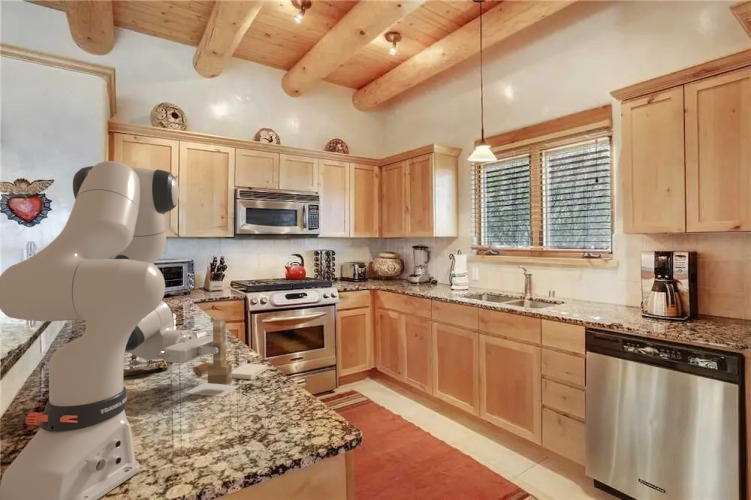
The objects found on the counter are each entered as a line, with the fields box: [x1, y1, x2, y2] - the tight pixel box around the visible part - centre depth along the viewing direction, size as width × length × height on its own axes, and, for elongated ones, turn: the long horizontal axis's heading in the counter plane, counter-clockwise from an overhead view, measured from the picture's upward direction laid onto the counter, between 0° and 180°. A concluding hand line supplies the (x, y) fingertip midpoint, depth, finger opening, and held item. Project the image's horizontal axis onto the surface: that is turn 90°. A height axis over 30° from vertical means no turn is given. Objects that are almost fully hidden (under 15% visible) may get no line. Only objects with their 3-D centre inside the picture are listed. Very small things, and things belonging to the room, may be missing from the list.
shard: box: [193, 362, 213, 377], centre depth 130 cm, size 11×8×2 cm
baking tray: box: [123, 351, 174, 377], centre depth 136 cm, size 30×22×5 cm
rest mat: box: [184, 382, 240, 397], centre depth 113 cm, size 8×12×1 cm, turn 76°
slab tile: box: [232, 363, 268, 380], centre depth 127 cm, size 2×8×10 cm
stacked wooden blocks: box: [207, 317, 233, 385], centre depth 113 cm, size 2×6×18 cm, turn 76°
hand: (222, 348), depth 112 cm, fingers closed on stacked wooden blocks, 2 cm apart
